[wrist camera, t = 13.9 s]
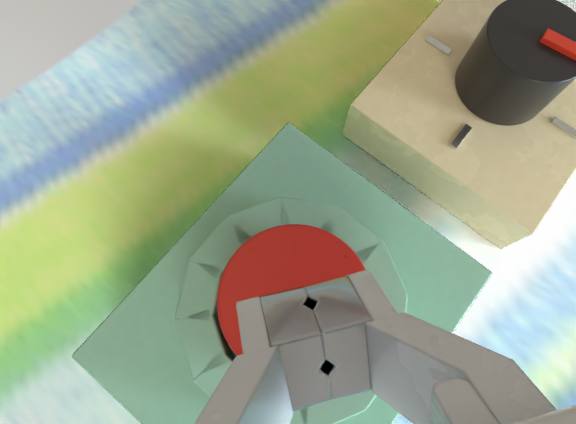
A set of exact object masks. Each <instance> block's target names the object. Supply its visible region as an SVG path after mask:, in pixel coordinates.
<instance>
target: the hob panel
mask: <svg viewBox="0 0 576 424" xmlns="http://www.w3.org/2000/svg"><path fill="white" fill-rule="evenodd" d="M504 1H506V0H442V2H441V3H440V4H439V5H438V6H437V7H436V8H435V9H434V11H433V12H432V13H431V14H430V15H429V16H428V17H427V18H426V20H425V21H424V22H423V23H422V24H421V25H420V26H419V27H418V29H417V30H416V31H415V32H414V33H413V34H412V35H411V36H410V38H409V39H408V40H407V41H406V42H405V43H404V44H403V45H402V47H401V48H400V49H399V50H398V51H397V52H396V53H395V54H394V56H393V57H392V58H391V59H390V60H389V61H388V62H387V63H386V65H385V66H384V67H383V68H382V69H381V70H380V71H379V72H378V74H377V75H376V76H375V77H374V78H373V79H372V80H371V81H370V83H369V84H368V85H367V86H366V87H365V88H364V89H363V90H362V92H361V93H360V94H359V95H358V96H357V97H356V98H355V99H354V101H353V102H352V103H351V104H350V107H349V111H348V114H347V117H346V121H345V124H344V127H343V131H342V135H344V136H345V137H346V138H348V139H349V140H350V141H352V142H353V143H355V144H356V145H357V146H359V147H360V148H361V149H363V150H364V151H366V152H367V153H368V154H370V155H371V156H373V157H374V158H375V159H377V160H378V161H379V162H381V163H382V164H384V165H385V166H386V167H388V168H389V169H391V170H392V171H393V172H395V173H396V174H397V175H399V176H400V177H402V178H403V179H404V180H406V181H407V182H408V183H410V184H411V185H413V186H414V187H415V188H417V189H418V190H420V191H421V192H422V193H424V194H425V195H426V196H428V197H429V198H431V199H432V200H433V201H435V202H436V203H437V204H439V205H440V206H442V207H443V208H444V209H446V210H447V211H449V212H450V213H451V214H453V215H454V216H455V217H457V218H458V219H460V220H461V221H462V222H464V223H465V224H467V225H468V226H469V227H471V228H472V229H473V230H475V231H476V232H478V233H479V234H480V235H482V236H483V237H484V238H486V239H487V240H489V241H490V242H491V243H493V244H494V245H496V246H497V247H498V248H500V249H502V248H504V247H506V246H508V245H510V244H512V243H514V242H516V241H519V240H521V239H523V238H525V237H527V236H529V235H531V234H533V233H534V232H535V230H536V229H537V227H538V226H539V224H540V222H541V221H542V219H543V218H544V216H545V215H546V213H547V212H548V210H549V209H550V207H551V206H552V204H553V203H554V201H555V200H556V198H557V197H558V195H559V194H560V192H561V191H562V189H563V187H564V186H565V184H566V183H567V181H568V180H569V178H570V177H571V175H572V174H573V172H574V171H575V169H576V79H575V80H574V81H573V82H572V83H571V84H569V85H568V86H567V87H566V88H565V89H564V90H563V91H562V92H561V93H560V94H559V95H558V96H557V97H556V98H554V99H553V100H552V101H551V102H550V103H549V104H548V105H547V106H546V107H545V108H544V109H543V110H542V111H540V112H539V113H538V114H537V115H536V116H535V117H534V118H532V119H531V120H529V121H527V122H525V123H522V124H518V125H511V126H503V125H497V124H493V123H490V122H487V121H485V120H483V119H481V118H479V117H477V116H476V115H474V114H473V113H472V112H471V111H470V110H469V109H468V108H467V107H466V106H465V105H464V104H463V102H462V101H461V99H460V97H459V95H458V93H457V89H456V84H455V76H456V71H457V68H458V66H459V64H460V62H461V61H462V59H463V58H464V56H465V54H466V53H467V51H468V50H469V48H470V46H471V45H472V43H473V42H474V40H475V39H476V37H477V35H478V34H479V32H480V31H481V29H482V27H483V26H484V24H485V23H486V21H487V19H488V18H489V16H490V15H491V13H492V12H493V10H494V9H495V8H496V7H497V6H498V5H499V4H501V3H502V2H504Z"/></svg>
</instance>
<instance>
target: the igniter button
mask: <svg viewBox="0 0 576 424" xmlns="http://www.w3.org/2000/svg"><path fill="white" fill-rule="evenodd" d="M364 270H366V269H365V267H364V265H363V263H362V262H361V260H360V259H359V257H358V256H357V254H356V253H355V252H354V251H353V250H352V249H351V248H350V247H349V246H348V245H347V244H346V243H345V242H344V241H343V240H341V239H340V238H338V237H337V236H335V235H334V234H332V233H330V232H328V231H326V230H323V229H320V228H318V227H314V226H309V225H302V224H286V225H280V226H276V227H272V228H269V229H266V230H264V231H262V232H259V233H258V234H256V235H254V236H253V237H251V238H250V239H248V240H247V241H246V242H245V243H243V244H242V245H241V246H240V247H239V248H238V249H237V250H236V252H235V253H234V254H233V255H232V257H231V258H230V260H229V261H228V263H227V265H226V267H225V269H224V271H223V273H222V276H221V279H220V283H219V286H218V293H217V312H218V319H219V323H220V327H221V330H222V332H223V335H224V337H225V339H226V341H227V343H228V344H229V346H230V348H231V349H232V350H233V352H234V353H235V354H236V356H237V355H241V354H243V350H242V343H241V336H240V329H239V322H238V315H237V308H236V303H237V301H241V300H245V299H250V298H254V297H259V298H260V296H262V295H267V294H271V293H276V292H280V291H285V290H289V289H294V288H298V287H303V286H308V285H312V284H316V283H320V282H324V281H328V280H332V279H336V278H340V277H344V276H346V275H349V274H353V273H356V272H360V271H364ZM260 302H261V300H260ZM261 306H262V305H261ZM262 311H263V309H262ZM263 315H264V314H263ZM264 319H265V318H264ZM266 328H267V327H266Z"/></svg>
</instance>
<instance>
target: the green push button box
mask: <svg viewBox="0 0 576 424" xmlns="http://www.w3.org/2000/svg"><path fill="white" fill-rule="evenodd" d="M286 224H302V225H309V226H314V227H318V228H320V229H323V230H326V231H328V232H330V233H332V234H334V235H335V236H337V237H338V238H340V239H341V240H343V241H344V242H345V243H346V244H347V245H348V246H349V247H350V248H351V249H352V250H353V251H354V252H355V253H356V254H357V256H358V257H359V259H360V260H361V262H362V263H363V265H364V267H365V269H366V270H369V271H371V273H372V274H373V276H374V277H375V279H376V281H377V282H378V284H379V285H380V287H381V288H382V290H383V291H384V293H385V294H386V296H387V297H388V299H389V300H390V302H391V303H392V305H393V307H394V308H395V310H396V311H397V313H398V314H401V313H407V314H409V315H412V316H414V317H416V318H419V319H421V320H423V321H425V322H428V323H430V324H432V325H434V326H437V327H439V328H441V329H444V330H446V331H448V332H450V333H453V332H454V331H455V329H456V328H457V326H458V325H459V323H460V322H461V320H462V319H463V317H464V316H465V314H466V313H467V311H468V310H469V308H470V307H471V305H472V304H473V302H474V301H475V299H476V298H477V296H478V295H479V293H480V292H481V290H482V289H483V287H484V286H485V284H486V283H487V281H488V280H489V278H490V277H491V275H492V272H491V271H490V270H488V269H487V268H486V267H484V266H483V265H481V264H480V263H479V262H477V261H476V260H475V259H473V258H472V257H471V256H469V255H468V254H467V253H465V252H464V251H462V250H461V249H460V248H458V247H457V246H456V245H454V244H453V243H452V242H450V241H449V240H448V239H446V238H445V237H443V236H442V235H441V234H439V233H438V232H437V231H435V230H434V229H433V228H431V227H430V226H429V225H427V224H426V223H424V222H423V221H422V220H420V219H419V218H418V217H416V216H415V215H414V214H412V213H411V212H410V211H408V210H407V209H405V208H404V207H403V206H401V205H400V204H399V203H397V202H396V201H395V200H393V199H392V198H391V197H389V196H388V195H386V194H385V193H384V192H382V191H381V190H380V189H378V188H377V187H376V186H374V185H373V184H372V183H370V182H369V181H367V180H366V179H365V178H363V177H362V176H361V175H359V174H358V173H357V172H355V171H354V170H353V169H351V168H350V167H348V166H347V165H346V164H344V163H343V162H342V161H340V160H339V159H338V158H336V157H335V156H334V155H332V154H331V153H329V152H328V151H327V150H325V149H324V148H323V147H321V146H320V145H319V144H317V143H316V142H315V141H313V140H312V139H310V138H309V137H308V136H306V135H305V134H304V133H302V132H301V131H300V130H298V129H297V128H296V127H294V126H293V125H291V124H290V123H287V124H286V125H285V126H284V127H283V128H282V129H281V130H280V131H279V133H278V134H277V135H276V136H275V137H274V138H273V139H272V140H271V141H270V142H269V143H268V144H267V145H266V147H265V148H264V149H263V150H262V151H261V152H260V153H259V154H258V155H257V156H256V157H255V158H254V159H253V161H252V162H251V163H250V164H249V165H248V166H247V167H246V168H245V169H244V170H243V171H242V172H241V173H240V175H239V176H238V177H237V178H236V179H235V180H234V181H233V182H232V183H231V184H230V185H229V186H228V187H227V189H226V190H225V191H224V192H223V193H222V194H221V195H220V196H219V197H218V198H217V199H216V200H215V201H214V203H213V204H212V205H211V206H210V207H209V208H208V209H207V210H206V211H205V212H204V213H203V214H202V215H201V217H200V218H199V219H198V220H197V221H196V222H195V223H194V224H193V225H192V226H191V227H190V228H189V229H188V231H187V232H186V233H185V234H184V235H183V236H182V237H181V238H180V239H179V240H178V241H177V242H176V243H175V245H174V246H173V247H172V248H171V249H170V250H169V251H168V252H167V253H166V254H165V255H164V256H163V258H162V259H161V260H160V261H159V262H158V263H157V264H156V265H155V266H154V267H153V268H152V269H151V270H150V272H149V273H148V274H147V275H146V276H145V277H144V278H143V279H142V280H141V281H140V282H139V283H138V284H137V286H136V287H135V288H134V289H133V290H132V291H131V292H130V293H129V294H128V295H127V296H126V297H125V298H124V300H123V301H122V302H121V303H120V304H119V305H118V306H117V307H116V308H115V309H114V310H113V311H112V312H111V314H110V315H109V316H108V317H107V318H106V319H105V320H104V321H103V322H102V323H101V324H100V325H99V326H98V328H97V329H96V330H95V331H94V332H93V333H92V334H91V335H90V336H89V337H88V338H87V339H86V340H85V342H84V343H83V344H82V345H81V346H80V347H79V348H78V349H77V350H76V351H75V352H74V353H73V355H72V357H73V359H74V360H75V361H76V362H77V363H78V364H80V365H81V366H82V367H83V368H84V369H85V370H86V371H87V372H88V373H89V374H90V375H91V376H92V377H93V378H94V379H95V380H96V381H97V382H98V383H99V384H100V385H101V386H102V387H103V388H105V389H106V390H107V391H108V392H109V393H110V394H111V395H112V396H113V397H114V398H115V399H116V400H117V401H118V402H119V403H120V404H121V405H122V406H123V407H124V408H125V409H126V410H127V411H129V412H130V413H131V414H132V415H133V416H134V417H135V418H136V419H137V420H138V421H139V422H140V423H141V424H194V423H195V421H196V420H197V418H198V416H199V415H200V413H201V412H202V410H203V408H204V407H205V405H206V404H207V402H208V400H209V399H210V397H211V396H212V394H213V392H214V391H215V389H216V387H217V386H218V384H219V383H220V381H221V379H222V378H223V376H224V375H225V373H226V371H227V370H228V368H229V367H230V365H231V363H232V362H233V360H234V359H235V357H236V354H235V353H234V352H233V350H232V349H231V348H230V346H229V344H228V343H227V341H226V339H225V337H224V335H223V332H222V330H221V327H220V323H219V319H218V312H217V293H218V286H219V283H220V279H221V276H222V273H223V271H224V269H225V267H226V265H227V263H228V261H229V260H230V258H231V257H232V255H233V254H234V253H235V252H236V250H237V249H238V248H239V247H240V246H241V245H242V244H243V243H245V242H246V241H247V240H248V239H250V238H251V237H253V236H254V235H256V234H258V233H259V232H262V231H264V230H266V229H269V228H272V227H276V226H280V225H286ZM398 414H399V412H398V411H396V410H395V409H394V408H392V407H391V406H390V405H388V404H387V403H386V402H384V401H383V400H382V399H381V398H379V397H378V396H377V395H375V394H374V393H373V392H372V390H369V391H365V392H361V393H357V394H353V395H349V396H345V397H340V398H336V399H332V400H329V401H325V402H322V403H319V404H316V405H312V406H309V407H306V408H302V409H299V410H296V411H293V416H292V419H291V422H290V424H392V423H393V422H394V420H395V419H396V417H397V416H398Z"/></svg>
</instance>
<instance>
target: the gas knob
mask: <svg viewBox="0 0 576 424" xmlns="http://www.w3.org/2000/svg"><path fill="white" fill-rule="evenodd" d="M575 79H576V13H575V12H574V11H573V10H572V9H571V8H569V7H568V6H566V5H564V4H563V3H561V2H559V1H556V0H506V1H504V2H502V3H501V4H499V5H498V6H497V7H496V8H495V9H494V10H493V12H492V13H491V15H490V16H489V18H488V19H487V21H486V23H485V24H484V26H483V27H482V29H481V31H480V32H479V34H478V35H477V37H476V39H475V40H474V42H473V43H472V45H471V46H470V48H469V50H468V51H467V53H466V54H465V56H464V58H463V59H462V61H461V62H460V64H459V66H458V68H457V71H456V76H455V84H456V89H457V93H458V95H459V97H460V99H461V101H462V102H463V104H464V105H465V106H466V107H467V108H468V109H469V110H470V111H471V112H472V113H473V114H474V115H476V116H477V117H479V118H481V119H483V120H485V121H487V122H490V123H493V124H497V125H503V126H511V125H518V124H522V123H525V122H527V121H529V120H531V119H532V118H534V117H535V116H536V115H537V114H538V113H539V112H540V111H542V110H543V109H544V108H545V107H546V106H547V105H548V104H549V103H550V102H551V101H552V100H553V99H554V98H556V97H557V96H558V95H559V94H560V93H561V92H562V91H563V90H564V89H565V88H566V87H567V86H568V85H569V84H571V83H572V82H573V81H574V80H575Z"/></svg>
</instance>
